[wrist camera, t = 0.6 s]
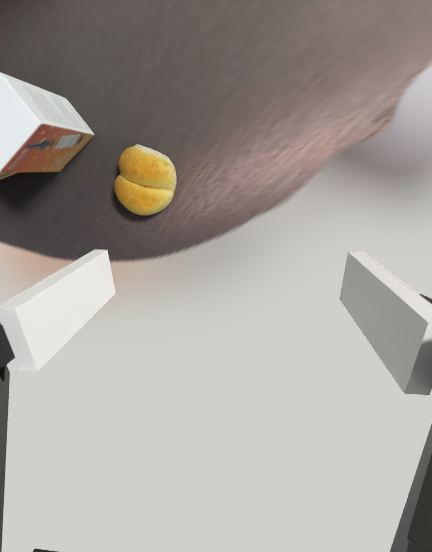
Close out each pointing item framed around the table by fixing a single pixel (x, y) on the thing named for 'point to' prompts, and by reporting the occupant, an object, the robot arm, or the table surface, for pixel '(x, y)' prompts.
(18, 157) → the small box
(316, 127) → the table surface
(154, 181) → the bread roll
